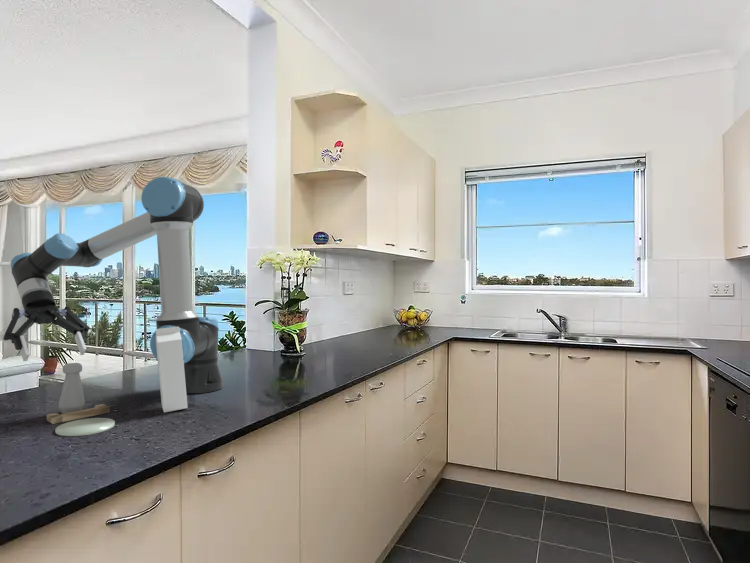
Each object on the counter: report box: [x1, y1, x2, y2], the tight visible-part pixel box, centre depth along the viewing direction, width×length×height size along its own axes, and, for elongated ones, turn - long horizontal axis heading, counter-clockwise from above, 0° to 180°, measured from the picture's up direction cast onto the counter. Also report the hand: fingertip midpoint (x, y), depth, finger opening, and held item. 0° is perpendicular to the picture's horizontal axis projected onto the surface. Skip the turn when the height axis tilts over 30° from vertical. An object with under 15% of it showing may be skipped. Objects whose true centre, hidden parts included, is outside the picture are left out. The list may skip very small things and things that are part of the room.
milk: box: [155, 327, 188, 413], centre depth 128 cm, size 6×6×22 cm
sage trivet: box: [54, 417, 116, 437], centre depth 112 cm, size 12×12×1 cm
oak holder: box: [46, 403, 110, 425], centre depth 120 cm, size 4×13×2 cm, turn 143°
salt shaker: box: [58, 362, 86, 414], centre depth 123 cm, size 6×6×13 cm
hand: (56, 355), depth 128 cm, fingers open, 13 cm apart
